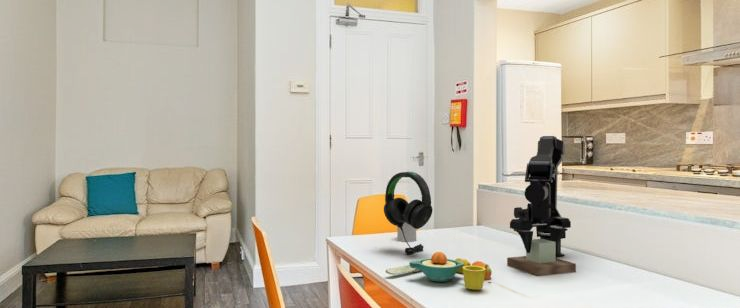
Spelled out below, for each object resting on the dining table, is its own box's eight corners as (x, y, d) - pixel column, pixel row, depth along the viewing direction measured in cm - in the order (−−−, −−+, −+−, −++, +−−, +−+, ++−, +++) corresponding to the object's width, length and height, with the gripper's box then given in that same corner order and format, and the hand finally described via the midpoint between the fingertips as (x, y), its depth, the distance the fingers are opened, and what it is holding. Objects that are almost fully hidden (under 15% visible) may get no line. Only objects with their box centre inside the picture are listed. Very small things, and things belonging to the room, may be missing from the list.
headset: (379, 253, 169) (379, 171, 169) (404, 248, 178) (404, 170, 178) (418, 261, 156) (418, 172, 156) (443, 255, 166) (443, 171, 166)
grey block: (415, 244, 185) (415, 214, 185) (396, 244, 187) (396, 213, 187) (417, 241, 193) (417, 211, 193) (398, 240, 194) (398, 211, 194)
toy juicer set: (501, 276, 138) (501, 249, 138) (481, 292, 122) (481, 261, 122) (412, 264, 153) (412, 240, 153) (384, 277, 137) (384, 250, 137)
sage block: (541, 257, 150) (541, 238, 150) (555, 261, 144) (555, 241, 144) (526, 259, 148) (526, 239, 148) (539, 263, 142) (539, 243, 142)
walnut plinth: (543, 262, 155) (543, 254, 155) (575, 272, 142) (575, 263, 142) (507, 265, 150) (507, 257, 150) (537, 276, 137) (537, 267, 137)
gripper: (546, 197, 157) (546, 245, 157) (498, 199, 150) (498, 249, 150) (572, 200, 146) (572, 251, 146) (521, 202, 140) (521, 255, 140)
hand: (540, 251), depth 146 cm, fingers open, 9 cm apart
